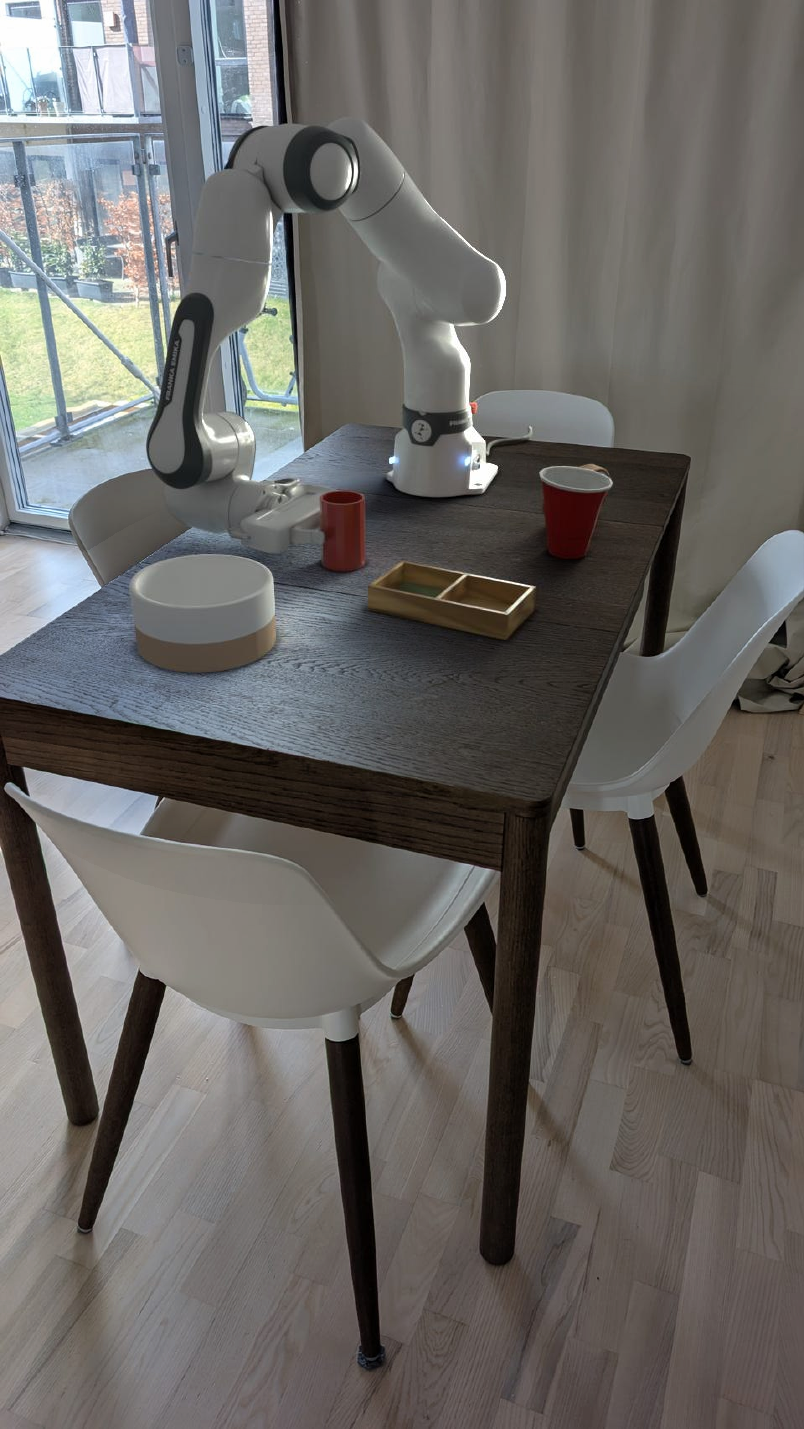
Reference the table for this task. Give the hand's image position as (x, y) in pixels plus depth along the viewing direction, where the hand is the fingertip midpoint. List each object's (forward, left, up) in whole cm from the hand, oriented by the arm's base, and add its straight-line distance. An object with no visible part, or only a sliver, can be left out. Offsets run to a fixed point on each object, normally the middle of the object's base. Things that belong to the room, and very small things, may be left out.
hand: (342, 527), depth 150 cm
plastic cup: (-20, +28, -6) cm, 35 cm away
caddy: (+8, +21, -6) cm, 23 cm away
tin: (-35, +24, -6) cm, 43 cm away
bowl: (+31, -2, -6) cm, 32 cm away
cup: (0, 0, -6) cm, 6 cm away
